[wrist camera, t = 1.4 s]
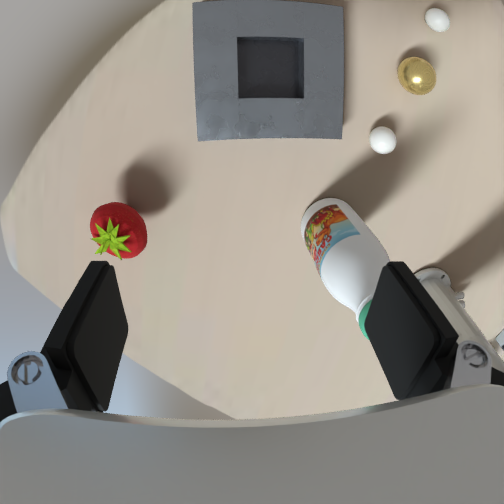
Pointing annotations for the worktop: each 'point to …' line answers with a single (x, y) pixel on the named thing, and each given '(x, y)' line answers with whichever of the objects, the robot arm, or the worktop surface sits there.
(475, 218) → the worktop surface
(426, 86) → the brass ball
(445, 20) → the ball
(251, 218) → the worktop surface
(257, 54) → the plate
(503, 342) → the tea box
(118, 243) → the strawberry
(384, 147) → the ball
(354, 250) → the milk bottle
